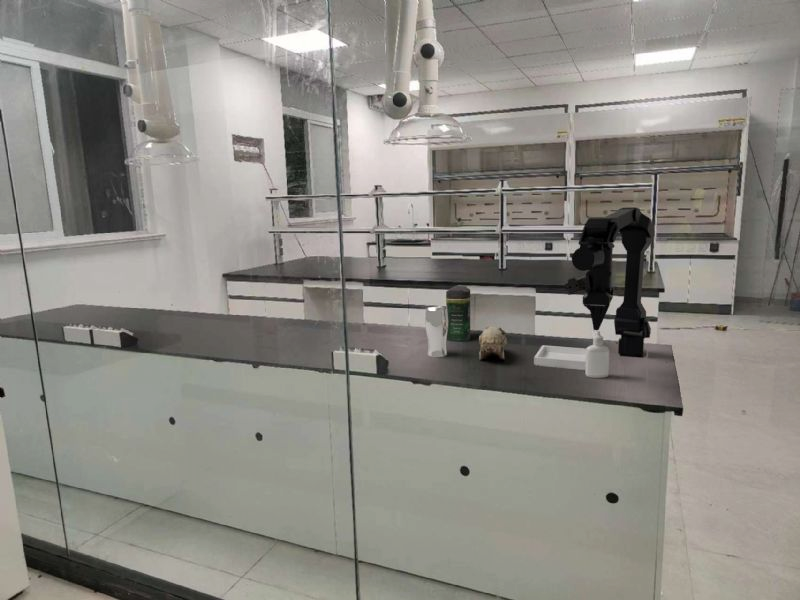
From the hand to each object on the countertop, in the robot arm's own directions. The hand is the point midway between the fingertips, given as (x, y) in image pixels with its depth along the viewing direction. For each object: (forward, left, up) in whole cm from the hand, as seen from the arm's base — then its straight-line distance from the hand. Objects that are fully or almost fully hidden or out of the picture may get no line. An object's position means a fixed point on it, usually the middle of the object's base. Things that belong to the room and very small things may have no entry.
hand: (597, 326), depth 141 cm
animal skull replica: (+29, -7, -13) cm, 33 cm away
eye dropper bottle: (0, +1, -13) cm, 13 cm away
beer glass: (+46, -3, -13) cm, 48 cm away
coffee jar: (+46, -24, -13) cm, 53 cm away
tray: (+10, -10, -13) cm, 19 cm away
